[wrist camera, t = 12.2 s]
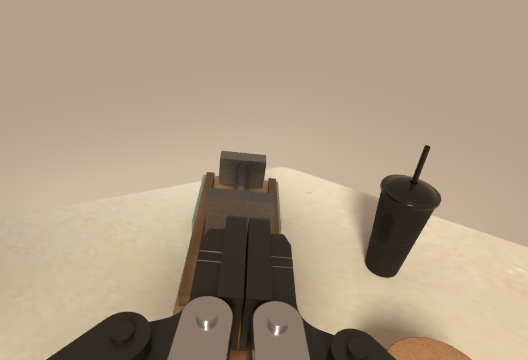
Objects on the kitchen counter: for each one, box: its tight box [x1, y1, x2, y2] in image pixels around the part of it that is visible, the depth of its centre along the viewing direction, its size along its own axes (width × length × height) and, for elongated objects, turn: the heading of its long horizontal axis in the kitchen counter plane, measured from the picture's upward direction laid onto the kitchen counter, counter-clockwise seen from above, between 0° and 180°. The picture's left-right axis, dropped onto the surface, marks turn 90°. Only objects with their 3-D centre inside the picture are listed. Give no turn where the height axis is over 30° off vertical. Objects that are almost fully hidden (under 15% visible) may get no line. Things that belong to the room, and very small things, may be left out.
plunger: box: [205, 151, 275, 234], centre depth 43 cm, size 6×18×9 cm, turn 0°
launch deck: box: [173, 172, 280, 360], centre depth 46 cm, size 10×24×12 cm, turn 0°
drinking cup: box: [365, 145, 441, 278], centre depth 52 cm, size 8×8×20 cm
